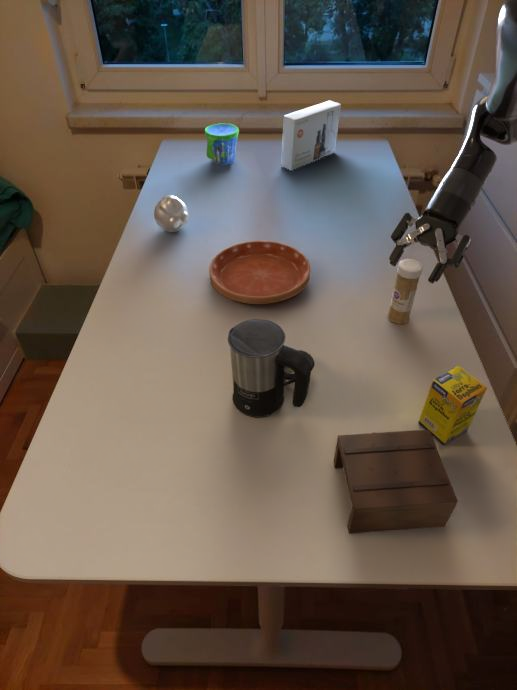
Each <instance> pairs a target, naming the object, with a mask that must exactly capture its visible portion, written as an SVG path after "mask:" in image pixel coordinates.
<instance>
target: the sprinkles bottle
mask: <svg viewBox="0 0 517 690" xmlns="http://www.w3.org/2000/svg"><path fill="white" fill-rule="evenodd" d="M423 268H424V266H423V264H422V262H420V261H419V260H417V259H414V258H404V259H400V260H399V261H398V265H397V269H396V273H397V274H396V278H395V283H394V287H393V291H392V293H391V299H390V305H389V309H388V312H387V318H388V320H390V322H392V323H394V324H397V325H402V324H406V323H408V322H409V320H410V315H411V311H412V309H413V305H414V301H415V297H416V293H417V289H418V285H419V280H420V277H421V276H422V272H423V270H424V269H423Z"/></svg>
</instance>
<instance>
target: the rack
mask: <svg viewBox="0 0 517 690" xmlns="http://www.w3.org/2000/svg"><path fill="white" fill-rule="evenodd" d="M333 456H334V457H333V466H334V469H343V473H344V477H345V481H346V485H347V490H348V494H349V499H350V503H351V508H350V512H349V516H348V521H347V525H346V527H347V532H348V534H349V535H350V534H362V533H364V534H365V533H377V532H378V533H379V532H390V531H404V530H405V531H406V530H416V529H417V530H419V529H431V528H432V529H433V528H445V527H447V525H448V522H449V521H450V518H451V517H452V515H453V512H454V511H455V508H456V507H457V505H458V503H459V500H458V498H457V495H456V492H455V490H454V488H453V486H452V482H451V481H450V478H449V474H448V472H447V470H446V467H445V465H444V462H443V460H442V457H441V455H440V452H439V450H438V447H437V445H436V442H435V439H434V437H433V436H432V435H431V432H430V430H425V429H417V430H401V431H400V430H399V431H387V432H386V431H385V432H370V433H369V432H368V433H351V434H340V435H339V434H338V435H337V439H336V444H335V451H334V455H333Z"/></svg>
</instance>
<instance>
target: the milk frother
mask: <svg viewBox="0 0 517 690" xmlns="http://www.w3.org/2000/svg"><path fill="white" fill-rule="evenodd" d="M227 334H228V335H227V344H228V346H229V351H230V359H231V361H230V362H231V373H232V383H233V384H232V385H233V386H232V387H233V388H232V389H233V392H232V402H233V405H234V407H235V408H236V410H237V411H239V412H240V413H241V414H243V415H245V416H247V417H252V418H263V417H268V416H272V415H273V414H275V413H276V412H278V410H279V409H280V408H281V407H282V406H283V404H284V402H285V401H284V400H285V388H286V387H287V386H289V385H292V384H293V383H294V386H293V393H292V406H293V407H295V408H301V407H303V405H304V404H305V402H306V400H307V397H308V393H309V392H308V391H309V386H310V382H311V374H312V371H313V370H314V368H315V360H314V358H313V356H312V354H310V353H309V352H307V351H305V350H301V349H296V348H292V347H290V346H287V345H285V343H286V333H285V331H284V329H283V328H282V327H281V326H280V325H279V324H278V323H276V322H274V321H272V320H268V319H266V318H265V319H264V318H250V319H246V320H242V321H240V322H238V323H236V325H234V326H233V327H231V328H230V329H229V331H228V333H227ZM286 368H288V369H289V370H291V371H292V372H293V373H292V372H291V373H290V372H286V370H285V369H286Z"/></svg>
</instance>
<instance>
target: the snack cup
mask: <svg viewBox="0 0 517 690" xmlns="http://www.w3.org/2000/svg"><path fill="white" fill-rule="evenodd" d="M239 133H240V129H239V127H238V126H237V125H235V124H232V123H227V122H219V123H218V122H217V123H213V124H210V125H208V126H206V127H205V129H204V135H205V137H206V139H207V143H206V144H207V145H206V157H207V158H208V159H209V160H211V161H212V162H213V163H215V164H216V165H231V164H232V163H233V162H234V161H235V159H236V153H237V144H238V141H239V136H238V135H239Z"/></svg>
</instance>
